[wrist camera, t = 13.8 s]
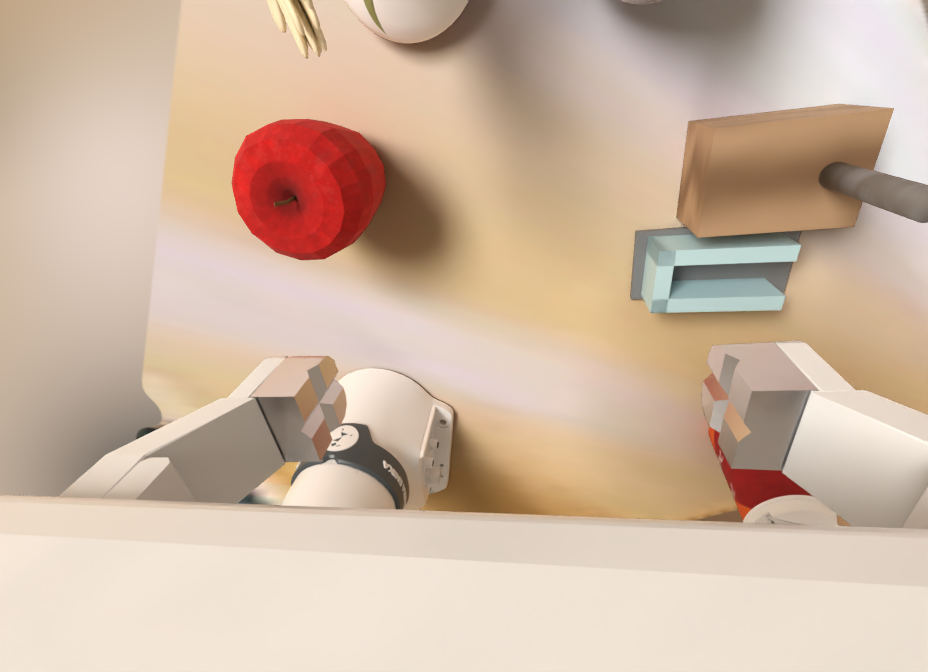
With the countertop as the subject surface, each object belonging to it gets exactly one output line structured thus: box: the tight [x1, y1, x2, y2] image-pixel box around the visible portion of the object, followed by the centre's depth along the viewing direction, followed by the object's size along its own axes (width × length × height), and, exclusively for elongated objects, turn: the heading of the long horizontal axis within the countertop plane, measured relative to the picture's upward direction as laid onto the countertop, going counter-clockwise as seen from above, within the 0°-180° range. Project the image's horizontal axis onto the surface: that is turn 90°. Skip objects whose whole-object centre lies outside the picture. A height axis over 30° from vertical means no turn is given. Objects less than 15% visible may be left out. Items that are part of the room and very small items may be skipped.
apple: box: [232, 119, 386, 260], centre depth 36 cm, size 11×10×14 cm
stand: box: [676, 104, 928, 238], centre depth 30 cm, size 8×11×15 cm
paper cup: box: [709, 427, 838, 526], centre depth 45 cm, size 8×8×14 cm
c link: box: [641, 232, 801, 313], centre depth 39 cm, size 11×6×4 cm, turn 95°
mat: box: [630, 227, 801, 300], centre depth 41 cm, size 7×14×1 cm, turn 97°
